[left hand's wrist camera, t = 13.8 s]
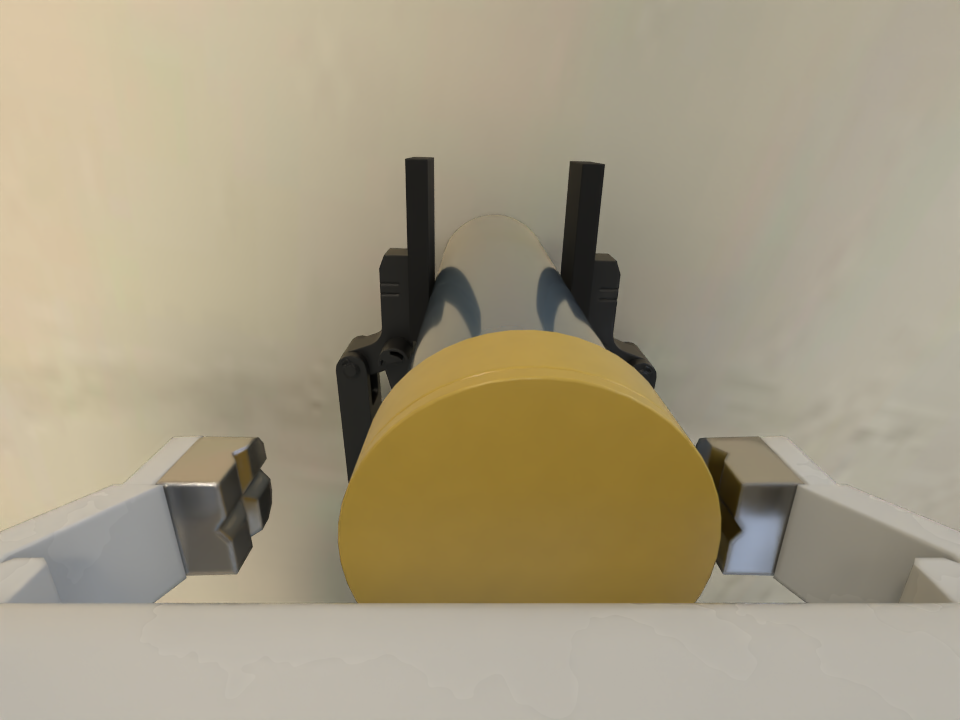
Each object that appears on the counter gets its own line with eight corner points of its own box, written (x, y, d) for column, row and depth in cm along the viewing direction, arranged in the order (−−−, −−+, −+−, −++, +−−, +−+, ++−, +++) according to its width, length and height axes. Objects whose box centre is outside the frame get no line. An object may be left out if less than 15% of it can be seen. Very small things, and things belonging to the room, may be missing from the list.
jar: (439, 215, 26) (352, 383, 8) (546, 213, 26) (704, 377, 8) (444, 317, 28) (382, 640, 10) (543, 315, 28) (664, 635, 10)
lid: (333, 556, 11) (303, 642, 9) (409, 284, 9) (390, 322, 7) (603, 622, 12) (627, 713, 10) (734, 384, 9) (796, 444, 8)
